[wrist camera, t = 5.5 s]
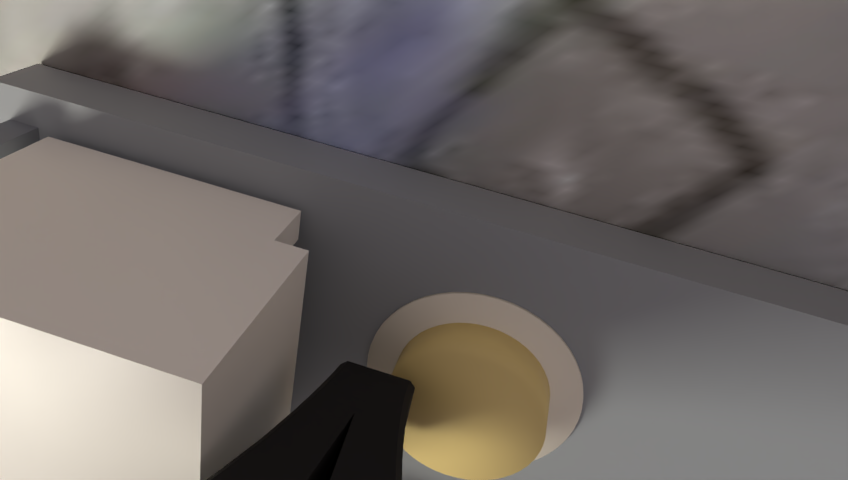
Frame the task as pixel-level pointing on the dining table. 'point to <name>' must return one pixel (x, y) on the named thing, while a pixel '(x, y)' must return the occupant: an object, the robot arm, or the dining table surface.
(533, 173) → the dining table surface
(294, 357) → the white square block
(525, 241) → the board
